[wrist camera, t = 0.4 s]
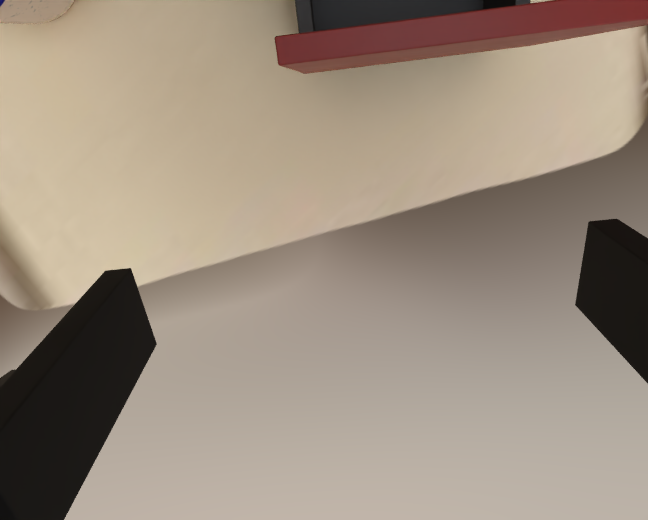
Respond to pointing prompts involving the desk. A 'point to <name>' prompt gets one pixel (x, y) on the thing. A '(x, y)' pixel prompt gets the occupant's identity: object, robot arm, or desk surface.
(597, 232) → the robot arm
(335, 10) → the dark grey open box
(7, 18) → the teacup with lid
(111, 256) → the desk surface
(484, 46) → the red box lid
